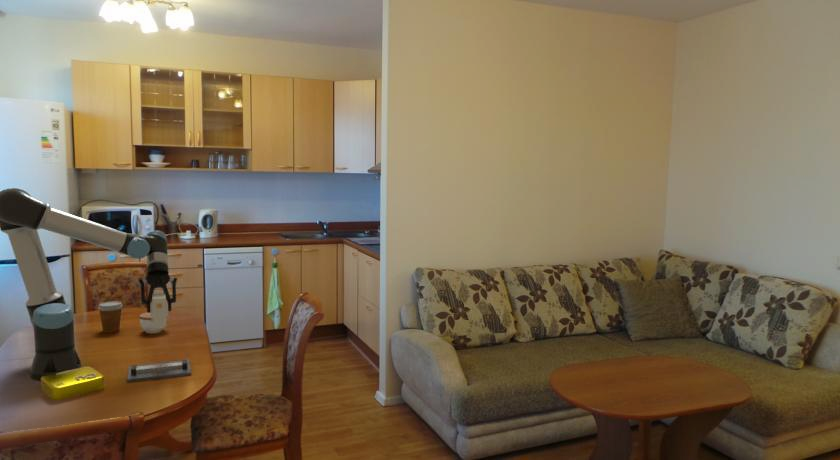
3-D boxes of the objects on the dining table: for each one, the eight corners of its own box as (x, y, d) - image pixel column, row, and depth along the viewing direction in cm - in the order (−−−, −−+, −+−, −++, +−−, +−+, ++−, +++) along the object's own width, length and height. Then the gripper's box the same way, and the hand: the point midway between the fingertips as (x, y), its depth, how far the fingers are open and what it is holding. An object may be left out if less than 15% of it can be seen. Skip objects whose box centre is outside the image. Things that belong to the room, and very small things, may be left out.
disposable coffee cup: (94, 331, 246) (92, 304, 245) (114, 326, 255) (113, 300, 254) (107, 334, 242) (106, 307, 241) (128, 329, 250) (127, 302, 249)
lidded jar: (159, 335, 243) (159, 314, 242) (135, 334, 243) (134, 313, 242) (171, 328, 253) (170, 308, 252) (147, 327, 254) (147, 307, 253)
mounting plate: (126, 382, 190) (126, 374, 190) (129, 368, 203) (129, 361, 203) (190, 374, 199) (190, 367, 198) (189, 362, 211) (189, 354, 211)
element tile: (89, 377, 196) (89, 363, 195) (106, 389, 186) (106, 375, 185) (39, 389, 184) (38, 375, 184) (54, 402, 175) (53, 387, 174)
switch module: (166, 327, 209) (166, 298, 207) (153, 329, 207) (152, 299, 205) (165, 321, 217) (165, 293, 215) (152, 322, 215) (152, 293, 213)
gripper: (181, 270, 228) (184, 321, 215) (132, 272, 220) (133, 326, 207) (182, 260, 222) (185, 311, 210) (132, 262, 214) (132, 316, 202)
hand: (159, 318), depth 209 cm, fingers closed on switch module, 4 cm apart
